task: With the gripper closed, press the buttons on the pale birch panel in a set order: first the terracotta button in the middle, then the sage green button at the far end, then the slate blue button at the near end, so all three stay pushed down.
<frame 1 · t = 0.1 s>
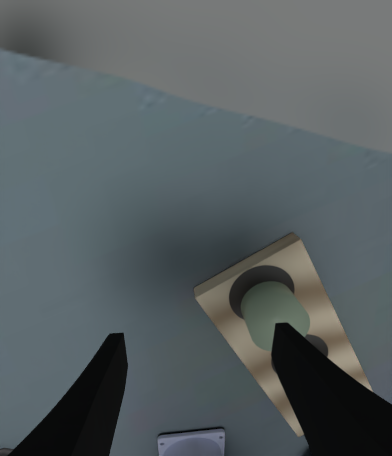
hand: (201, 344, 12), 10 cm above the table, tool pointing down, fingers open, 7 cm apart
sage button: (273, 315, 19), point 4 cm above the table, slide at 0.0 cm
button panel: (292, 345, 26), on the table
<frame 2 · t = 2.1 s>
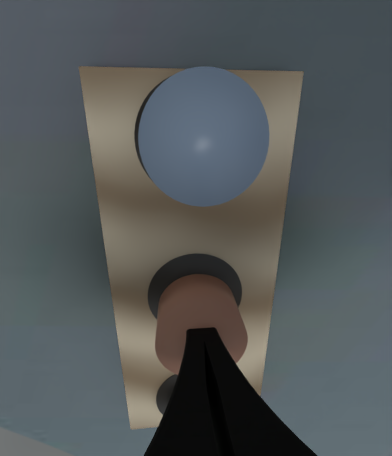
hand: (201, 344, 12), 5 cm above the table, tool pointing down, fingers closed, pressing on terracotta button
button panel: (193, 282, 16), on the table
terracotta button: (199, 324, 13), point 4 cm above the table, slide at 0.2 cm, touching gripper
slate button: (200, 142, 9), point 4 cm above the table, slide at 0.0 cm
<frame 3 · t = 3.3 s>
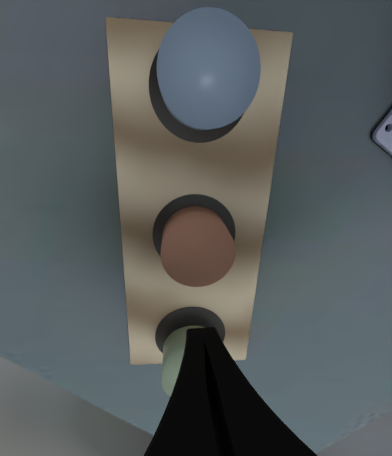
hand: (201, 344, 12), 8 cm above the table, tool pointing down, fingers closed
sage button: (192, 362, 18), point 4 cm above the table, slide at 0.0 cm
button panel: (192, 227, 19), on the table
terracotta button: (196, 245, 16), point 3 cm above the table, slide at 0.9 cm
slate button: (205, 79, 12), point 4 cm above the table, slide at 0.0 cm
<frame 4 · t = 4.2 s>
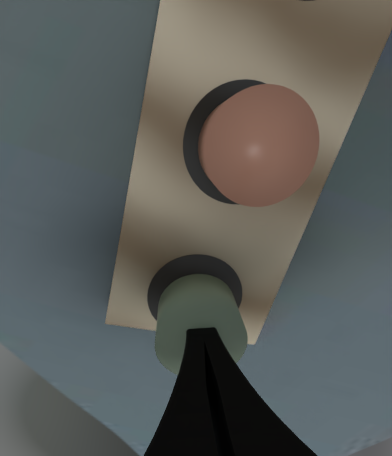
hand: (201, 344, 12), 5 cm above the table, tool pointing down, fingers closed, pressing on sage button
sage button: (199, 324, 13), point 4 cm above the table, slide at 0.3 cm, touching gripper
button panel: (234, 145, 14), on the table
terracotta button: (252, 148, 10), point 3 cm above the table, slide at 0.9 cm
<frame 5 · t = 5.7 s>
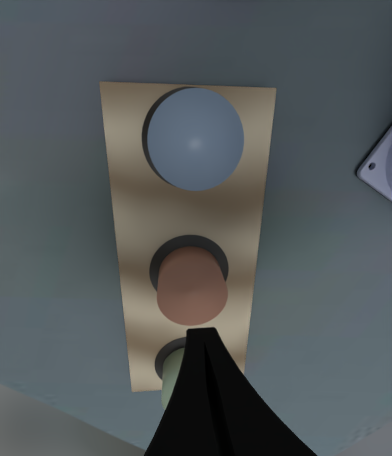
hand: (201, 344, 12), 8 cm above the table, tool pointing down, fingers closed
sage button: (190, 381, 19), point 3 cm above the table, slide at 0.9 cm
button panel: (188, 261, 19), on the table
terracotta button: (191, 284, 16), point 3 cm above the table, slide at 0.9 cm
slate button: (194, 142, 12), point 4 cm above the table, slide at 0.0 cm
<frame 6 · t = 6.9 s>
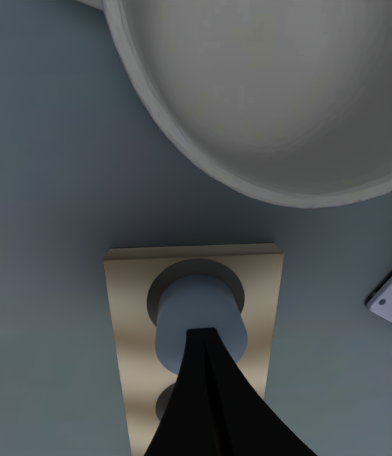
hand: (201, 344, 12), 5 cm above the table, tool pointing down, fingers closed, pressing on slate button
teacup: (221, 43, 12), on the table
button panel: (194, 386, 19), on the table
slate button: (199, 324, 13), point 3 cm above the table, slide at 0.8 cm, touching gripper
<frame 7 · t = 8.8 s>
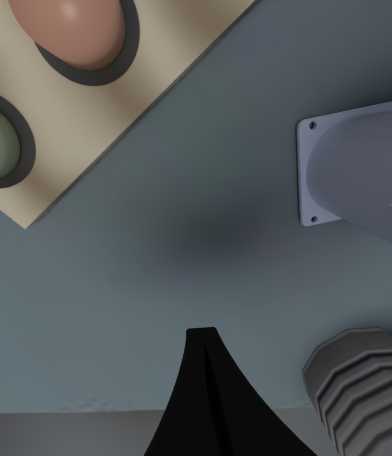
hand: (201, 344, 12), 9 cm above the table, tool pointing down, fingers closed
button panel: (93, 35, 15), on the table
can: (349, 365, 27), on the table
terracotta button: (72, 9, 12), point 3 cm above the table, slide at 0.9 cm
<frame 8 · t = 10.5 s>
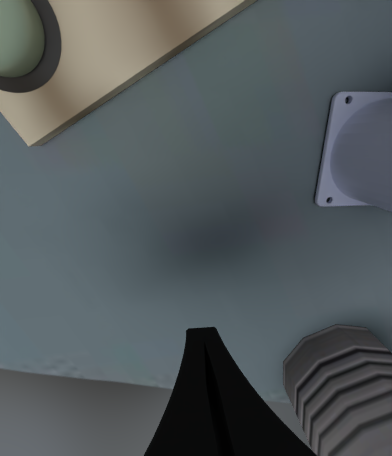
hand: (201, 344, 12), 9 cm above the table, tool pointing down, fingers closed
can: (330, 363, 27), on the table
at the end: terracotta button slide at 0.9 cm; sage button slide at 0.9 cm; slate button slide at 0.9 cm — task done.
